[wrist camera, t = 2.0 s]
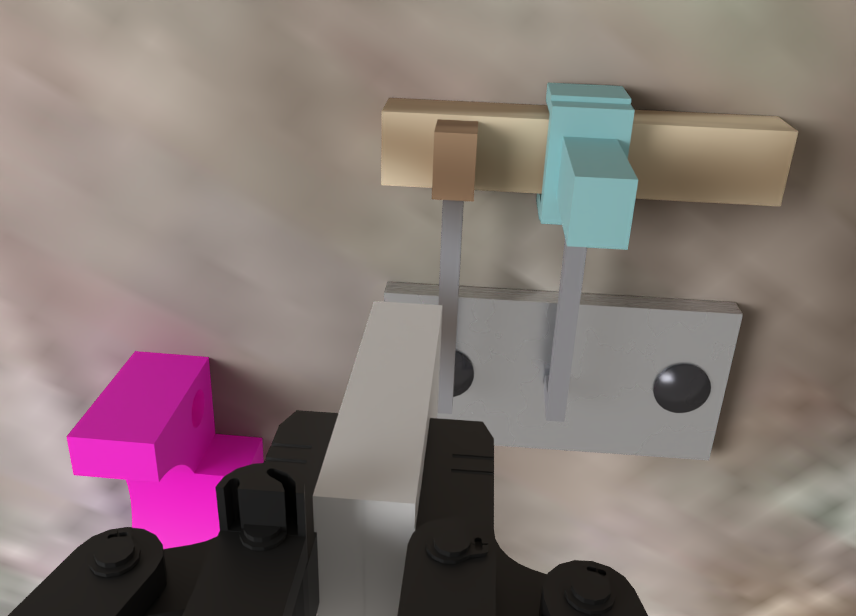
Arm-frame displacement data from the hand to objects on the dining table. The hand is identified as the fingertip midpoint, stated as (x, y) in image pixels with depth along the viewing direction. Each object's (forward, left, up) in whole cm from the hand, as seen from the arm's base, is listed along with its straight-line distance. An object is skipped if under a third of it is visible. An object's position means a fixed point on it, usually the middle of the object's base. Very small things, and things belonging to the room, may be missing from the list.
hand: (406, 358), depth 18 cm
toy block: (+19, -12, -19) cm, 30 cm away
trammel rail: (0, +5, -19) cm, 19 cm away
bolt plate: (+11, +5, -19) cm, 22 cm away
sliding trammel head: (0, +7, -19) cm, 20 cm away
